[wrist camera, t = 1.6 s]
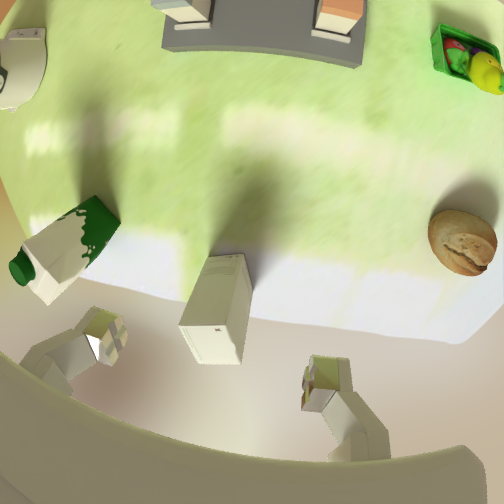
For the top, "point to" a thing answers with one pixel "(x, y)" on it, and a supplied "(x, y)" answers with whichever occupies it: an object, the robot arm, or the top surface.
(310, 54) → the console
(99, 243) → the milk carton
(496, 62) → the fruit basket
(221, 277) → the skincare box
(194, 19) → the switch
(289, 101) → the top surface
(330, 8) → the switch
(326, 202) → the top surface
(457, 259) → the bread roll
